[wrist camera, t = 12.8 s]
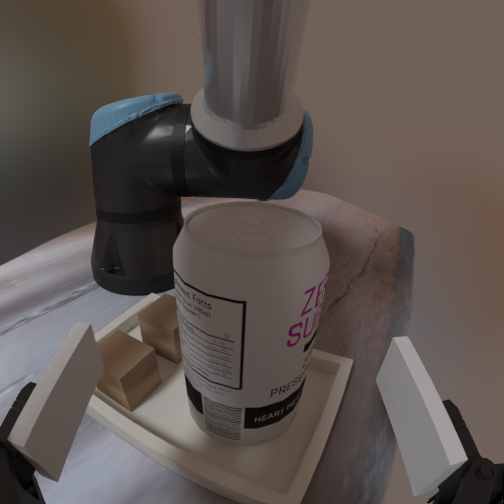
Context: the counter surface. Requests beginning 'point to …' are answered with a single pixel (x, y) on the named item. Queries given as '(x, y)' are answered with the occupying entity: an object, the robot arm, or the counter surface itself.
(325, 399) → the tray
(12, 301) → the counter surface
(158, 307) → the walnut block
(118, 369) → the walnut block
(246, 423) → the supplement can
